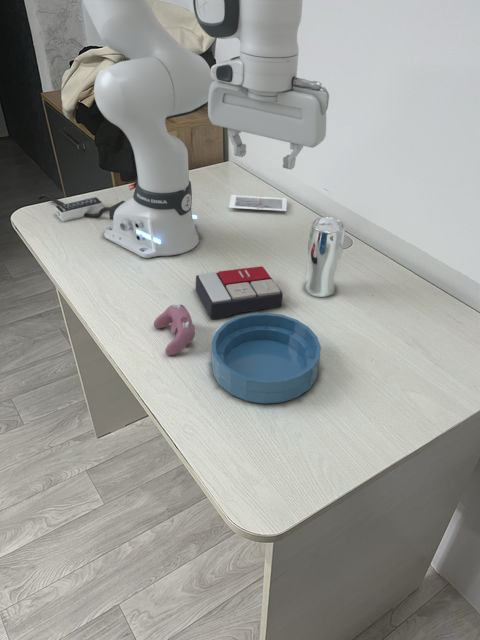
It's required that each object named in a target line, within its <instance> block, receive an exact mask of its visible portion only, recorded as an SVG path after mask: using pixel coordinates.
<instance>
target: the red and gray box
mask: <svg viewBox="0 0 480 640" xmlns="http://www.w3.org/2000/svg"><path fill="white" fill-rule="evenodd" d="M195 291H196V294H197V296H198V298H199V299H200V301H201V304H202V305H203V307H204V309H205V311H206V313H207V315H208V317H209V319H211V320H217V319H222V318H223V319H225V318H229V317H231V316H232V315H234V314H240V313H246V312H247V313H248V312H254V311H260V310H266V309H267V310H268V309H274V308H279V307H282V305H283V297H284V293H283V292H282V290H281V289H280V288H279V286H278V285H277V284H276V282H275V281H274V279H273V278H272V277H271V275H270V274H269V273H268V271H267V270H266V268H265V267H263V266H260V265H259V266H253V267H244V268H234V269H227V270H220V271H218V272H211V273H210V272H208V273H200V274H197V275H195Z"/></svg>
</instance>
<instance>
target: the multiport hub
mask: <svg viewBox="0 0 480 640" xmlns="http://www.w3.org/2000/svg"><path fill="white" fill-rule="evenodd" d="M102 208H105V207H104V202H103V201H102V200H101V199H100V198H99V197H97V196H93V197H89V198H86V199H81V200H77V201H72V202H68V203H64V204H63V205H59V204H58V205H56V206H54V209H55V213H56V216H57V218H58V219H60V221H62V222H68V221H72V220H75V219H80V218H83V217H85V216H84V214H85V213H88V214H98V213H99V211H100V210H101V209H102Z"/></svg>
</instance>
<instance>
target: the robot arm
mask: <svg viewBox="0 0 480 640" xmlns="http://www.w3.org/2000/svg"><path fill="white" fill-rule="evenodd" d="M303 1H304V0H192V6H193V11H194V15H195V18H196V21H197V24H198V25H199V26H200V28H201V29H202V31H204V33H205V34H206V35H207V36H209V37H211V38H215V39H220V40H229V39H238V40H239V43H240V45H239V55H238V56H234V57H232V58H229V59H226V60H222V61H220V62H218V63H216V64H213V65H212V66H211V67H210V65H209V64H208V62H207V61H206V60H205V58H203V57H202V56H201V55H199V54H197V53H195V52H193V51H191V50H190V49H188V48H186V47H185V46H184V45H182V44H181V43H180V42H179V41H177V40H176V38H174V37H173V36H172V35H171V33H170V32H169V31H168V30H167V29H166V28H165V27H164V26H163V25H162V24H161V22H160V21H159V20H158V18H157V17H156V16H155V14H154V12H153V11H152V8H151V6H150V5H149V3H148V1H147V0H81V2H82V4H83V6H84V8H85V9H86V12H87V14H88V16H89V18H90V20H91V22H92V24H93V26H94V28H95V30H96V33H97V34H98V36H99V38H100V40H101V41H102V42H103V43H104V45H105V46H107V47H108V48H109V49H110V50H113V51H114V52H116V53H119V54H121V55H122V56H124V57H126V58H128V60H121V61H119V62H116V63H114V64H112V65H111V64H110V65H109V66H107V67H105V68H103V69H101V70H100V71H99V72H98V73H97V74H96V77H95V80H94V83H93V95H94V101H95V103H96V106H97V108H98V110H99V111H100V113H101V115H102V116H103V117H104V118H105V119H106V120H107V121H108V122H110V123H111V124H113V125H115V126H116V127H118V128H119V129H120V130H121V131H122V133H124V135H125V136H126V138H127V139H128V141H129V143H130V146H131V149H132V151H133V155H134V162H135V169H136V174H137V179H136V180H135V181H134V182H133V183H131V184H130V185H128V187H129V189H128V190H129V191H130V192H131V191H132V190H134V192H133V195H132V196H131V197H129V198H128V199H127V200H122V201H119V202H117V203H116V204H113V205H111V206H105V207H104V208H102V209H101V210H100V211H99V213H96V214H88V213H85V214H84V217H86V218H101V217H102V216H103V213H104V212H108V217H109V220H111V221H112V223H110V225H108V226H107V227H106V229H105V230H104V233H103V235H104V238H105V239H107V240H108V241H111V242H112V243H115V244H116V245H118V246H120V247H122V248H124V249H126V250H127V251H129V252H132V253H134V254H136V255H137V256H139V257H141V258H142V259H143V258H144V259H150V258H156V257H163V256H165V257H166V256H176V255H182V254H185V253H187V252H190V251H191V250H193V249H195V247H197V246H198V244H199V243H200V238H199V235H198V232H197V230H196V229H197V228H196V226H195V221H194V220H195V219H196V220H197V219H198V216H197V215H196V214H193V209H192V204H193V190H192V181H191V180H190V171H189V153H188V151H189V150H188V148H187V146H186V145H185V143H184V142H183V141H182V140H181V139H180V138H179V137H176V136H175V135H173V134H171V133H168V129H167V125H166V119H167V118H169V117H172V116H178V115H182V114H185V113H190V112H192V111H195V110H196V109H198V108H200V107H201V106H203V105H205V104H206V103H207V117H208V119H209V121H210V123H211V124H212V125H213V126H216V127H220V128H221V127H222V128H224V129H225V128H226V129H227V136H228V138H229V140H230V142H231V144H232V146H233V156H235V157H239V158H243V157H245V156H246V155H247V150H246V149H247V144H246V143H243V141H242V139H241V135H240V134H241V133H245V134H246V133H247V134H251V135H255V136H260V137H264V138H268V139H273V140H276V141H280V142H285V143H290V144H289V149H290V150H292V151H291V153H290V154H287V155H286V156H284V157H283V158H282V168H283V169H287V170H290V171H291V170H293V169H294V168H295V166H296V160H297V159H296V158H297V157H298V155H299V154H300V152H301V151H302V149H303V148H304V147H308V148H316V147H317V146H319V145H320V144H321V143H323V142H324V140H325V139H326V135H327V111H328V108H329V102H330V94H329V91H328V90H327V88H326V87H325V86H324V85H323V83H322V82H320V81H316V80H308V79H305V78H300V77H297V75H298V63H299V50H300V49H299V44H298V43H299V42H298V32H299V27H300V24H301V22H302V14H303ZM42 199H48V200H49V201H52V202H53V203H55V204H57V205H58V206H59V205H63V204H65V203H64V202H63V201H60V200H59V199H56V198H55V197H53V196H51V195H49V194H47V193H41V194H39V196H38V197H37V200H42Z"/></svg>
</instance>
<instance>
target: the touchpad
mask: <svg viewBox="0 0 480 640" xmlns="http://www.w3.org/2000/svg"><path fill="white" fill-rule="evenodd" d="M287 202H288V201H287V197H273V196H272V197H271V196H257V195H256V196H255V195H242V194H241V195H237V194H231V195H230V199H229V205H228V208H229V209H245V210H261V211H277V212H287Z"/></svg>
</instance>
